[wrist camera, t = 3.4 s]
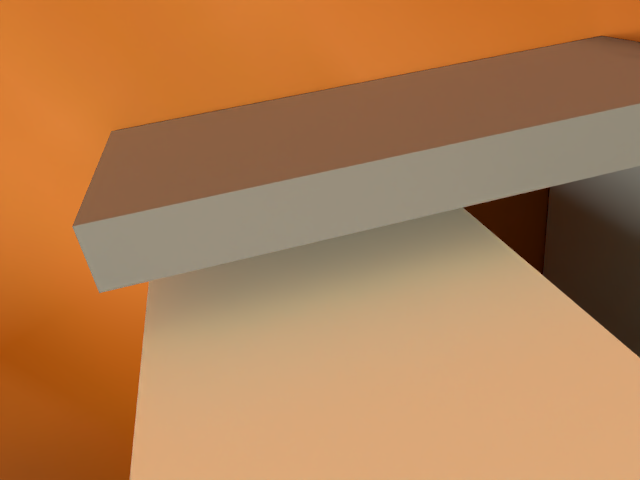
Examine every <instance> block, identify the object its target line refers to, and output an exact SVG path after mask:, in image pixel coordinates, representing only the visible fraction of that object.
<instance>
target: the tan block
mask: <svg viewBox="0 0 640 480" xmlns="http://www.w3.org/2000/svg"><path fill="white" fill-rule="evenodd" d="M130 480H640V358H639V357H638V356H637V355H636V354H635V353H634V352H632V351H631V350H630V349H629V348H628V347H626V346H625V345H624V344H623V343H622V342H621V341H619V340H618V339H617V338H616V337H615V336H614V335H612V334H611V333H610V332H609V331H608V330H606V329H605V328H604V327H603V326H602V325H601V324H599V323H598V322H597V321H596V320H595V319H594V318H592V317H591V316H590V315H589V314H588V313H586V312H585V311H584V310H583V309H582V308H581V307H579V306H578V305H577V304H576V303H575V302H574V301H572V300H571V299H570V298H569V297H568V296H566V295H565V294H564V293H563V292H562V291H561V290H559V289H558V288H557V287H556V286H555V285H554V284H552V283H551V282H550V281H549V280H548V279H546V278H545V277H544V276H543V275H542V274H541V273H539V272H538V271H537V270H536V269H535V268H534V267H532V266H531V265H530V264H529V263H528V262H526V261H525V260H524V259H523V258H522V257H521V256H519V255H518V254H517V253H516V252H515V251H514V250H512V249H511V248H510V247H509V246H508V245H506V244H505V243H504V242H503V241H502V240H501V239H499V238H498V237H497V236H496V235H495V234H494V233H492V232H491V231H490V230H489V229H488V228H486V227H485V226H484V225H483V224H482V223H481V222H479V221H478V220H477V219H476V218H475V217H474V216H472V215H471V214H470V213H469V212H468V211H466V210H465V209H464V208H458V209H454V210H450V211H446V212H441V213H437V214H433V215H429V216H424V217H420V218H416V219H412V220H407V221H403V222H399V223H395V224H390V225H386V226H382V227H378V228H373V229H369V230H365V231H361V232H356V233H352V234H348V235H344V236H339V237H335V238H331V239H327V240H322V241H318V242H314V243H310V244H305V245H301V246H297V247H292V248H288V249H284V250H280V251H275V252H271V253H267V254H263V255H258V256H254V257H250V258H246V259H241V260H237V261H233V262H229V263H224V264H220V265H216V266H212V267H207V268H203V269H199V270H195V271H190V272H186V273H182V274H178V275H173V276H169V277H165V278H161V279H156V280H152V281H149V286H148V297H147V307H146V317H145V327H144V338H143V348H142V358H141V368H140V379H139V389H138V399H137V410H136V420H135V430H134V440H133V451H132V461H131V471H130Z"/></svg>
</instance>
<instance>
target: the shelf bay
mask: <svg viewBox="0 0 640 480" xmlns="http://www.w3.org/2000/svg"><path fill="white" fill-rule="evenodd" d="M548 187H550V192H549V205H548V217H547V230H546V243H545V255H544V268H543V276H544V277H545V278H546V279H548V280H549V281H550V282H551V283H552V284H554V285H555V286H556V287H557V288H558V289H559V290H561V291H562V292H563V293H564V294H565V295H566V296H568V297H569V298H570V299H571V300H572V301H574V302H575V303H576V304H577V305H578V306H579V307H581V308H582V309H583V310H584V311H585V312H586V313H588V314H589V315H590V316H591V317H592V318H594V319H595V320H596V321H597V322H598V323H599V324H601V325H602V326H603V327H604V328H605V329H606V330H608V331H609V332H610V333H611V334H612V335H614V336H615V337H616V338H617V339H618V340H619V341H621V342H622V343H623V344H624V345H625V346H626V347H628V348H629V349H630V350H631V351H632V352H634V353H635V354H636V355H637V356H638V357H639V358H640V42H636V41H630V40H624V39H618V38H611V37H605V36H599V37H594V38H589V39H583V40H578V41H573V42H568V43H563V44H558V45H553V46H547V47H542V48H537V49H532V50H527V51H522V52H517V53H512V54H506V55H501V56H496V57H491V58H486V59H481V60H476V61H470V62H465V63H460V64H455V65H450V66H445V67H440V68H434V69H429V70H424V71H419V72H414V73H409V74H404V75H398V76H393V77H388V78H383V79H378V80H373V81H368V82H363V83H357V84H352V85H347V86H342V87H337V88H332V89H327V90H321V91H316V92H311V93H306V94H301V95H296V96H291V97H285V98H280V99H275V100H270V101H265V102H260V103H255V104H250V105H244V106H239V107H234V108H229V109H224V110H219V111H214V112H208V113H203V114H198V115H193V116H188V117H183V118H178V119H172V120H167V121H162V122H157V123H152V124H147V125H142V126H137V127H131V128H126V129H121V130H116V131H112V132H111V134H110V137H109V139H108V141H107V144H106V146H105V149H104V151H103V153H102V156H101V158H100V161H99V163H98V166H97V168H96V170H95V173H94V175H93V178H92V180H91V183H90V185H89V187H88V190H87V192H86V195H85V197H84V200H83V202H82V204H81V207H80V209H79V212H78V214H77V217H76V219H75V221H74V224H73V226H72V227H73V229H74V231H75V234H76V236H77V239H78V241H79V244H80V246H81V249H82V251H83V254H84V256H85V258H86V261H87V263H88V266H89V268H90V271H91V273H92V276H93V278H94V281H95V283H96V285H97V288H98V290H99V293H101V292H105V291H110V290H114V289H118V288H122V287H127V286H131V285H135V284H139V283H144V282H148V281H152V280H156V279H161V278H165V277H169V276H173V275H178V274H182V273H186V272H190V271H195V270H199V269H203V268H207V267H212V266H216V265H220V264H224V263H229V262H233V261H237V260H241V259H246V258H250V257H254V256H258V255H263V254H267V253H271V252H275V251H280V250H284V249H288V248H292V247H297V246H301V245H305V244H310V243H314V242H318V241H322V240H327V239H331V238H335V237H339V236H344V235H348V234H352V233H356V232H361V231H365V230H369V229H373V228H378V227H382V226H386V225H390V224H395V223H399V222H403V221H407V220H412V219H416V218H420V217H424V216H429V215H433V214H437V213H441V212H446V211H450V210H454V209H458V208H463V207H467V206H471V205H475V204H480V203H484V202H488V201H492V200H497V199H501V198H505V197H509V196H514V195H518V194H522V193H526V192H531V191H535V190H539V189H544V188H548Z"/></svg>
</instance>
